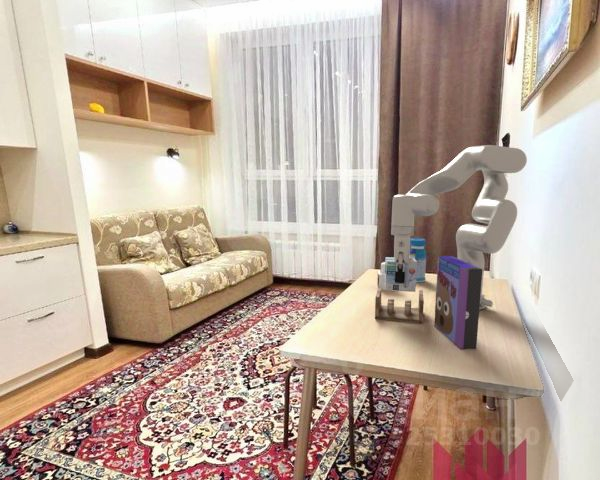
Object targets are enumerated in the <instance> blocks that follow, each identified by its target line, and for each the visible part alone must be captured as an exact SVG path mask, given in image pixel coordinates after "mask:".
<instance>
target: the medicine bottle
mask: <svg viewBox="0 0 600 480" xmlns="http://www.w3.org/2000/svg"><path fill="white" fill-rule="evenodd" d="M384 274H385V260H383V261H380V262H379V270H378V271H377V288H378V287H381V288H382V290H381V291H386V290H385V287H384Z"/></svg>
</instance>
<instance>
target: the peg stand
mask: <svg viewBox="0 0 600 480" xmlns="http://www.w3.org/2000/svg"><path fill="white" fill-rule="evenodd" d="M382 291H383V290H382V288H381V287H378V286H377V290H376V294H375V303H374V305H375V306H374V308H375V309H374V319H375V320H381V321H382V320H383V321H393V322H395V321H396V322H404V323H415V324H423V322H424V321H423V320H424V304H425V303H424V302H425V301H424V300H425V299H424V292H423V291H424V290H419V291H418V307H417V308H416V307H412V300H410V299H406V300H404V306H395V299H394V298H387V304H386V305H385V304H384V305H383V304H382Z"/></svg>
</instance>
